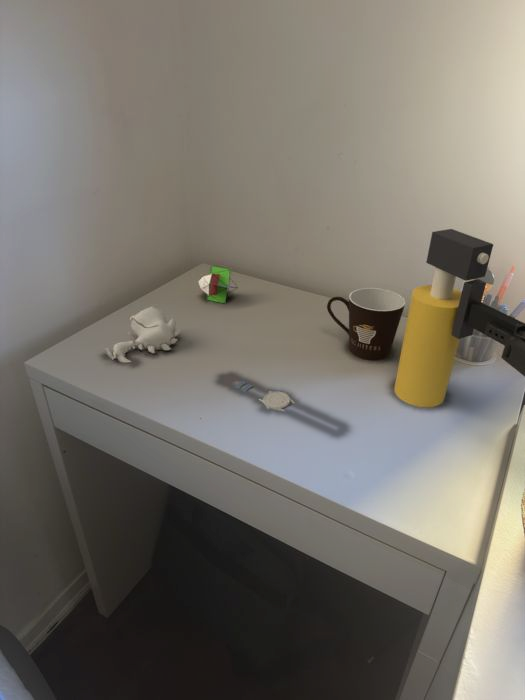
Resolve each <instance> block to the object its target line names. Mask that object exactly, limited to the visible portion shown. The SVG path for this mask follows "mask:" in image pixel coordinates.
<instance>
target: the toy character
mask: <svg viewBox="0 0 525 700" xmlns="http://www.w3.org/2000/svg"><path fill="white" fill-rule="evenodd" d="M129 321H130V329H132V331H133V333H134V334H135V335H136V336H137V338H136V339H135V338H134V337H133V334H132V333H131V332H129V331H128V332H127V335H128V336H129V337H131V339H132V340H128V341H121V342H117V343H115V344H114V345H113V347H112V350H113V352H111V350H110V348H109V347H106V348H105V351H106V352H105V354H106V355H107V356H108V358H109V359H111V360H112V361H113V360H114V359H115V360H116V359H117V361H118V362H119V363H131V362H132V360H129V359H130V358H127V356H126V354H127V353H128V350H131V349H133V350H135V349H136V347H138V349H139V350H141V351H142V350H143V348H145V349H147V351H148V352H149V353H151V354H155V353H156V351H171V350H172V348H171V347H170V346H171V345H174V344H176V343H177V342H178V340H179V339H178V338H176V337H177V336H179V335H180V334H181V332H182V329H180V328H176V326H177V322H176V320H175V319H174V318H173V317H172V318H171V319H170V320H169V321H168V318H167V316H166V314H165V312H163V311H162V310H161V309H159V308H157V307H155V306H149V307H146V308H145V309H143V310H141V311H138V313H136V314H134V315H133V314H132V315H131V316H130V317H129ZM125 356H126V357H125Z"/></svg>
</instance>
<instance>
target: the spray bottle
mask: <svg viewBox="0 0 525 700" xmlns="http://www.w3.org/2000/svg"><path fill="white" fill-rule="evenodd" d="M493 247H494V243H492V242H489V241H486V240H483V239H480V238H478V237H475V236H472V235H469V234H466V233H464V232H461V231H459V230H456V229H453V228H447V229H442V230H435V231H431V236H430V242H429V246H428V252H427V256H426V264H428V265H430V266H433V267H434V268H435V269H434V273H433V277H432V278H433V279H432V283H431V284H428V285H421V286H417V287H415V288H413V290H412V293H411V298H410V304H409V308H408V314H407V319H406V325H405V329H404V330H405V331H404V335H403V340H402V346H401V351H400V356H399V361H398V368H397V372H396V377H395V383H394V389H393V390H394V394H395V395H396V397H398V399H400V400H401V401H403V402H405V403H406V404H409V405H411V406H414V407H419V408H433V407H437V406H440V405H442V404H443V402H444V401H445V399H446V394H447V391H448V385H449V382H450V380H451V379H450V378H451V374H452V371H453V367H454V363H455V359H456V354H457V351H458V347H459V344H460V339H457V338H456V337H454V336H452V330H453V326H454V322H455V318H456V314H457V310H458V306H459V302H460V298H461V293H462V290H461V291H460V290H458V289H456V288H454V287H455V283H456V278H458V279H460V280H463V281H464V282H468V281H472V280H477V279H481V278H485V277H486V274H487V270H488V266H489V263H490V259H491V257H492V251H493Z"/></svg>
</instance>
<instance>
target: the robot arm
mask: <svg viewBox="0 0 525 700" xmlns="http://www.w3.org/2000/svg"><path fill="white" fill-rule="evenodd" d="M466 325H468V326H470V327H472V328H474V330H475V331H477V332H479V333H481V334H483V335H485V336H486V337H488V338H490V339H492V340H493V341H495V342H497V343H498V344H500V345H503V346H504V347H503V351H502V353H501V359H502V360H503V361H504V362H505V363H507V364H508V365H509V366H510V367H512V368H514V370H516V371H517V372H518V373H520V374H521V375H522V376H523V377H525V322H523V321H520V320H519V319H516V318H515V317H512V316H511V315H508V314H506V313H504V312H502V311H500V310H498V309H496V308H494V307H492V306H489V305H488V304H487V303H486V304H485V303H483V302H482V301H481V302H478V303H474V304H471V308H470V312H469V316H468V320H467V324H466Z"/></svg>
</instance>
